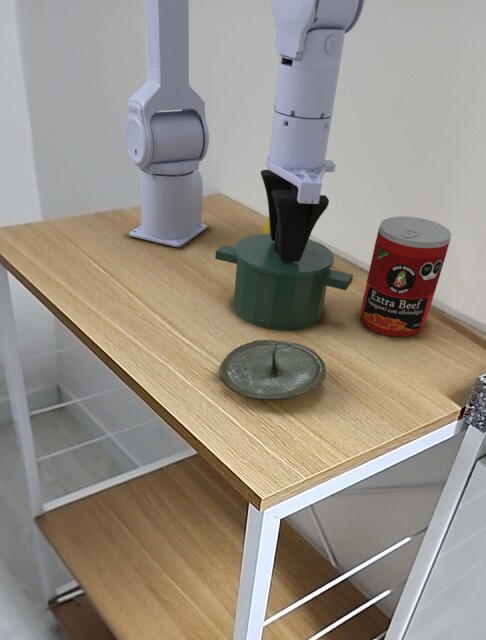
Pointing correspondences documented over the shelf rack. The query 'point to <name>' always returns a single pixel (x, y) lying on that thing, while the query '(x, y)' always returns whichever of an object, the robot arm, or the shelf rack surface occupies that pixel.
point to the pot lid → (266, 256)
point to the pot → (280, 294)
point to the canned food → (403, 275)
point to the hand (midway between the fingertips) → (284, 249)
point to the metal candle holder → (272, 370)
